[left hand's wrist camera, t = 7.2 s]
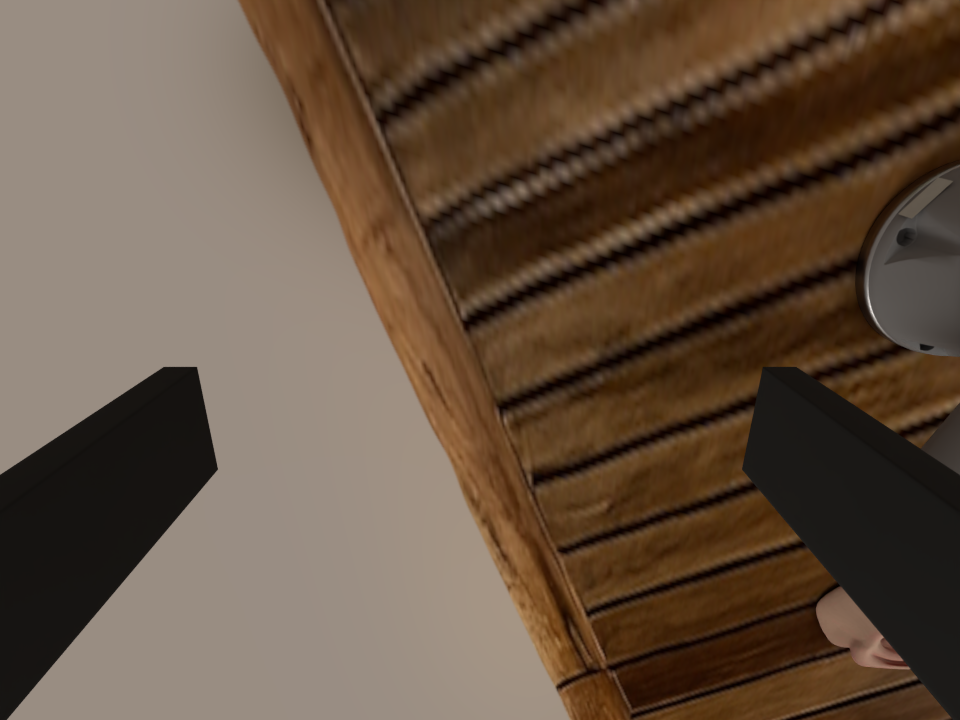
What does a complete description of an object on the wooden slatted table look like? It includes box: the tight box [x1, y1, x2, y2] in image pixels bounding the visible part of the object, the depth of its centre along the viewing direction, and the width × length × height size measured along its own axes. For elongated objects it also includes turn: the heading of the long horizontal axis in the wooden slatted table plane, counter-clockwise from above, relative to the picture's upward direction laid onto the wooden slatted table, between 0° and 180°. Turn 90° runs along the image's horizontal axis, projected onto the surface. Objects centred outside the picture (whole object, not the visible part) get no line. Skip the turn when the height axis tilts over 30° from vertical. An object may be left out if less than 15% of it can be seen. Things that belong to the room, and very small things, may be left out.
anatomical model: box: [816, 586, 910, 669], centre depth 54 cm, size 13×4×12 cm
